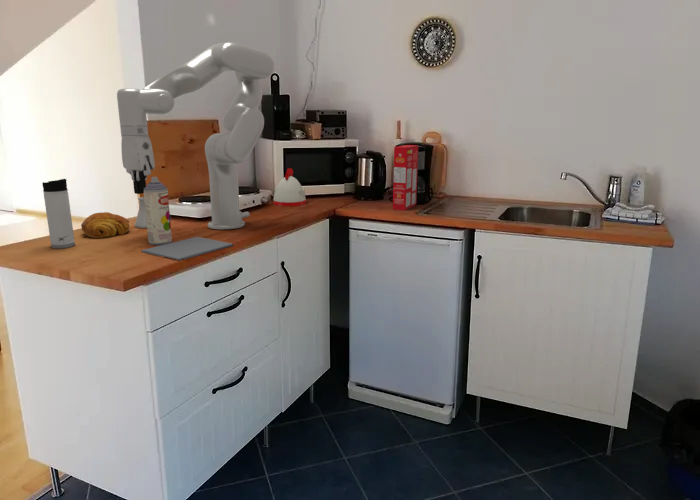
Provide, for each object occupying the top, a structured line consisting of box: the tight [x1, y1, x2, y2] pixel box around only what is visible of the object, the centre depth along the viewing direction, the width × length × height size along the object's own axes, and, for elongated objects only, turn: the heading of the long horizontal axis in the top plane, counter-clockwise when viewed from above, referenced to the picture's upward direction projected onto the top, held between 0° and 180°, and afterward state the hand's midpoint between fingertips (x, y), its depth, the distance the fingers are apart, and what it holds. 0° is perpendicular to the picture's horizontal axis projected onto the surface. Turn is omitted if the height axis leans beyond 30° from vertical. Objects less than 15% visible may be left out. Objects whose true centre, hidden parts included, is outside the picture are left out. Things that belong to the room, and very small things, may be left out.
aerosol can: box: [143, 176, 173, 246], centre depth 161 cm, size 7×7×20 cm
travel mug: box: [41, 178, 76, 250], centre depth 156 cm, size 6×7×20 cm
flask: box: [134, 196, 147, 229], centre depth 185 cm, size 7×7×10 cm
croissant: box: [81, 211, 130, 239], centre depth 175 cm, size 14×16×8 cm
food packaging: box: [392, 144, 419, 211], centre depth 221 cm, size 15×5×25 cm, turn 155°
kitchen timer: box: [272, 167, 307, 207], centre depth 229 cm, size 14×14×15 cm
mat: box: [141, 236, 234, 261], centre depth 156 cm, size 20×16×1 cm
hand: (140, 193), depth 164 cm, fingers closed
